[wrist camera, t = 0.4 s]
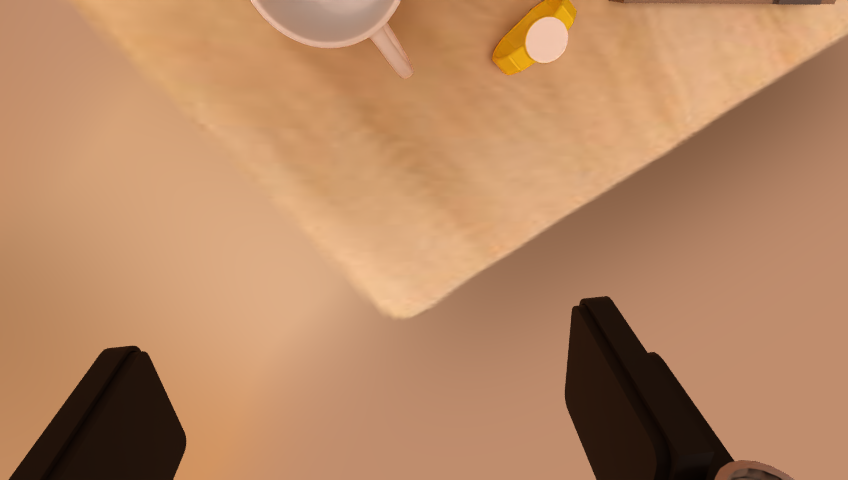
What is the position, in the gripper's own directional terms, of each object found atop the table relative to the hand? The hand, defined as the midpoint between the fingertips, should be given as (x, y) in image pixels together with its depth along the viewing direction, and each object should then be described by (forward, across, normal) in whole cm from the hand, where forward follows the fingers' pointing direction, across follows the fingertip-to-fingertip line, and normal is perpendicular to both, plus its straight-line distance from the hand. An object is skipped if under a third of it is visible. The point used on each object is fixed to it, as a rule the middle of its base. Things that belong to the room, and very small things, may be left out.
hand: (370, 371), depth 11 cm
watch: (+30, -11, -3) cm, 32 cm away
